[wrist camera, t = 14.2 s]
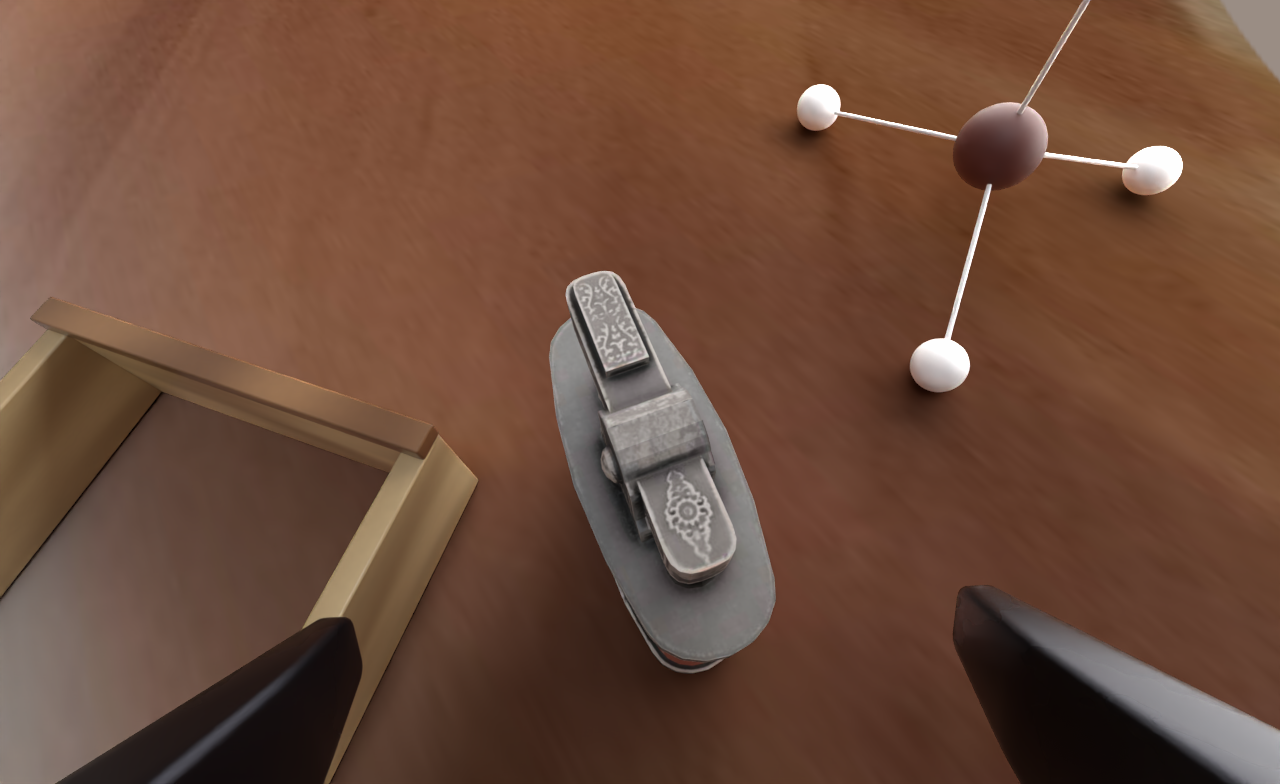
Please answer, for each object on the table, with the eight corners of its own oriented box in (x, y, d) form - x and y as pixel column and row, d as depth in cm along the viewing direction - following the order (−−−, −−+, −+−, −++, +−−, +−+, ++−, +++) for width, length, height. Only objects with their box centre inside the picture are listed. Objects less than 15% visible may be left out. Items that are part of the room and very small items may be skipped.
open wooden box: (480, 478, 20) (433, 423, 16) (177, 1096, 14) (-29, 1264, 10) (160, 367, 23) (49, 295, 19) (-222, 846, 16) (-519, 897, 12)
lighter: (760, 647, 18) (856, 600, 9) (652, 693, 17) (637, 691, 8) (659, 414, 21) (655, 209, 12) (567, 447, 21) (493, 260, 12)
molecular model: (913, 405, 21) (1200, 69, 10) (787, 115, 28) (870, -283, 16) (1273, 337, 21) (1938, -54, 10) (1064, 70, 28) (1327, -344, 17)
